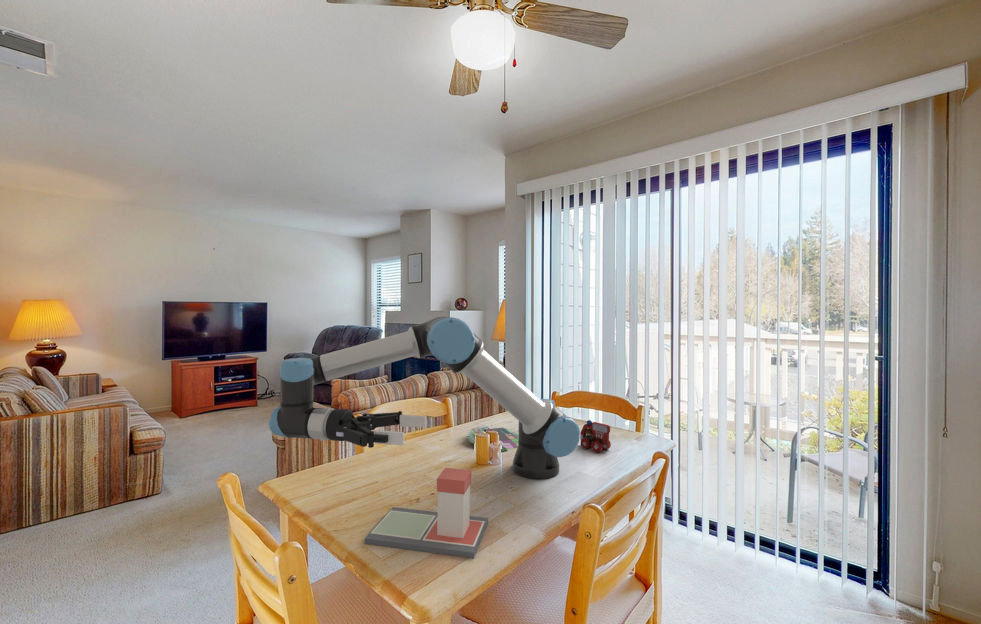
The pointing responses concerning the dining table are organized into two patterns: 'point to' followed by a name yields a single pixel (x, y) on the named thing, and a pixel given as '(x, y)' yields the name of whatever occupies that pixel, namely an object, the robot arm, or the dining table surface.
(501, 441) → the city model
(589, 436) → the toy fire truck
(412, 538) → the grey flat board
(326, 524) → the dining table surface
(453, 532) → the block
